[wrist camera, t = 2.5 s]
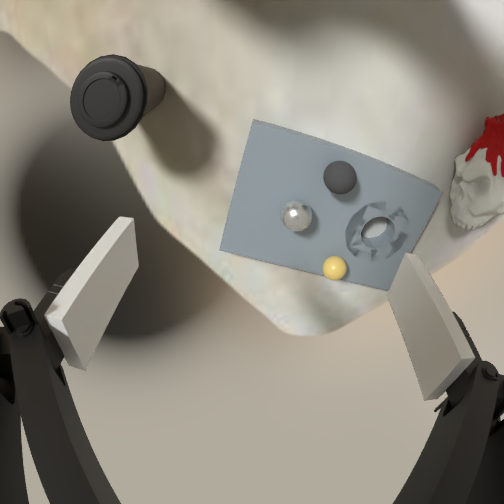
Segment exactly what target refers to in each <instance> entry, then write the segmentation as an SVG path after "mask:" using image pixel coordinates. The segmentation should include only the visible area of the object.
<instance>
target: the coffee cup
mask: <svg viewBox="0 0 504 504" xmlns="http://www.w3.org/2000/svg"><path fill="white" fill-rule="evenodd" d="M164 94H165V82H164V79H163V77H162V76H161V74H160V73H159V72H158V71H156V70H155V69H152V68H148V67H144V66H141V65H137V64H135V63H134V62H132V61H131V60H129V59H128V58H126V57H123V56H118V55H107V56H101V57H99V58H97V59H95V60H93V61H91V62H90V63H89V64H88V65H87V66H86V67H85V68H84V69H83V70H82V71H81V72H80V73H79V75H78V76H77V78H76V80H75V82H74V84H73V87H72V91H71V97H70V104H71V105H70V106H71V112H72V115H73V118H74V120H75V122H76V124H77V125H78V126H79V128H80V129H81V130H82V131H83V132H84V133H86V134H87V135H89V136H90V137H92V138H95V139H98V140H101V141H113V140H116V139H119V138H121V137H124V136H126V135H127V134H128V133H130V132H131V131H132V130H133V129H134V128H136V126H137V125H138V123H139V122H140V120H141V119H142V117H143V116H144V115H145V114H147V113H148V112H149V111H151V110H152V109H153V108H155V107H156V106H157V105H159V103H160V102H161V100H162V99H163V96H164Z"/></svg>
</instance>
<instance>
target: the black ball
mask: <svg viewBox="0 0 504 504" xmlns="http://www.w3.org/2000/svg"><path fill="white" fill-rule="evenodd" d="M323 180H324V183H325V185H326V187H327V188H328V189H329V190H330V191H331V192H333V193H335V194H346V193H348V192H350V191H351V190H352V189H353V188H354V187H355V185H356V182H357V175H356V171H355V169H354V168H353V167H352V166H351V165H350V164H349V163H347V162H345V161H334V162H332V163H330V164H329V165H328V166H327V167H326V169H325V171H324V174H323Z"/></svg>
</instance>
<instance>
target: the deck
mask: <svg viewBox="0 0 504 504" xmlns="http://www.w3.org/2000/svg"><path fill="white" fill-rule="evenodd" d="M334 161H345V162H347V163H349V164H350V165H351V166H352V167H353V168H354V169H355V171H356V175H357V182H356V185H355V187H354V188H353V189H352V190H351V191H350V192H348V193H346V194H335V193H333V192H331V191H330V190H329V189H328V188H327V187H326V185H325V183H324V180H323V174H324V171H325V169H326V167H327V166H328V165H329V164H330V163H332V162H334ZM441 195H442V192H441V191H440V190H439V189H438V188H437V187H436V186H435V185H433V184H431V183H429V182H427V181H425V180H423V179H420V178H418V177H416V176H414V175H412V174H410V173H407V172H405V171H403V170H401V169H398V168H396V167H394V166H391V165H389V164H386V163H384V162H382V161H379V160H377V159H374V158H372V157H369V156H367V155H364V154H361V153H359V152H356V151H354V150H351V149H348V148H345V147H343V146H340V145H337V144H334V143H331V142H328V141H325V140H322V139H319V138H316V137H313V136H310V135H307V134H304V133H301V132H298V131H294V130H291V129H288V128H284V127H281V126H277V125H274V124H270V123H266V122H263V121H259V120H255V119H253V122H252V126H251V129H250V133H249V137H248V140H247V144H246V148H245V151H244V155H243V159H242V162H241V166H240V170H239V174H238V178H237V181H236V185H235V189H234V193H233V197H232V201H231V205H230V209H229V213H228V217H227V221H226V225H225V229H224V233H223V237H222V241H221V245H220V249H219V250H220V251H224V252H228V253H232V254H237V255H241V256H245V257H249V258H253V259H257V260H261V261H265V262H269V263H274V264H278V265H282V266H286V267H290V268H294V269H298V270H303V271H307V272H311V273H315V274H319V275H323V276H325V275H324V273H323V263H324V261H325V260H326V259H327V258H329V257H331V256H339V257H341V258H342V259H343V260H344V261H345V263H346V266H347V270H346V273H345V275H344V276H343V277H342V278H341V279H340V280H344V281H349V282H353V283H357V284H361V285H365V286H370V287H374V288H378V289H382V290H388V288H389V287H390V285H391V284H392V282H393V280H394V278H395V276H396V273H397V271H398V269H399V267H400V264H401V262H402V260H403V257H404V255H405V253H411V251H412V249H413V248H414V246H415V244H416V242H417V241H418V239H419V237H420V235H421V233H422V232H423V230H424V228H425V226H426V224H427V222H428V220H429V219H430V217H431V215H432V213H433V211H434V209H435V207H436V205H437V203H438V201H439V199H440V197H441ZM291 199H300V200H303V201H305V202H306V203H307V204H308V205H309V206H310V208H311V211H312V220H311V222H310V224H309V226H308V227H307V228H305V229H304V230H302V231H296V232H295V231H290V230H288V229H287V228H285V227H284V226H283V224H282V223H281V220H280V210H281V207H282V206H283V204H284V203H285V202H287V201H289V200H291ZM381 216H383V217H386V218H388V222H389V224H388V226H387V228H386V230H385V232H384V233H382V234H381V235H380V236H378V237H375V238H370V239H369V238H366V237H362V236H361V231H362V229H363V227H364V225H365V224H366V223H367V222H368V221H370V220H371V219H372V218H376V217H381Z"/></svg>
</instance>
